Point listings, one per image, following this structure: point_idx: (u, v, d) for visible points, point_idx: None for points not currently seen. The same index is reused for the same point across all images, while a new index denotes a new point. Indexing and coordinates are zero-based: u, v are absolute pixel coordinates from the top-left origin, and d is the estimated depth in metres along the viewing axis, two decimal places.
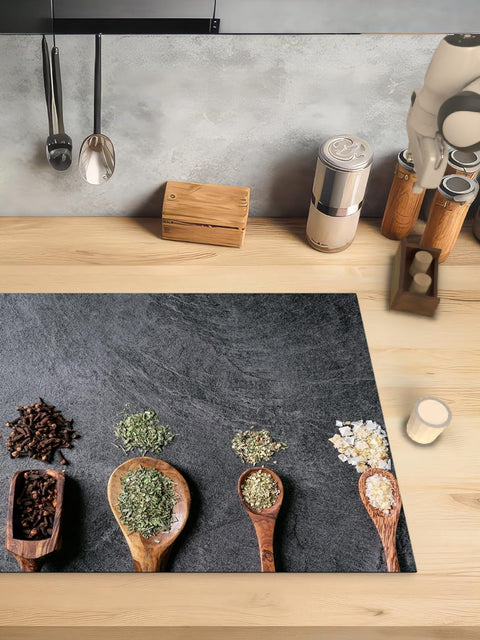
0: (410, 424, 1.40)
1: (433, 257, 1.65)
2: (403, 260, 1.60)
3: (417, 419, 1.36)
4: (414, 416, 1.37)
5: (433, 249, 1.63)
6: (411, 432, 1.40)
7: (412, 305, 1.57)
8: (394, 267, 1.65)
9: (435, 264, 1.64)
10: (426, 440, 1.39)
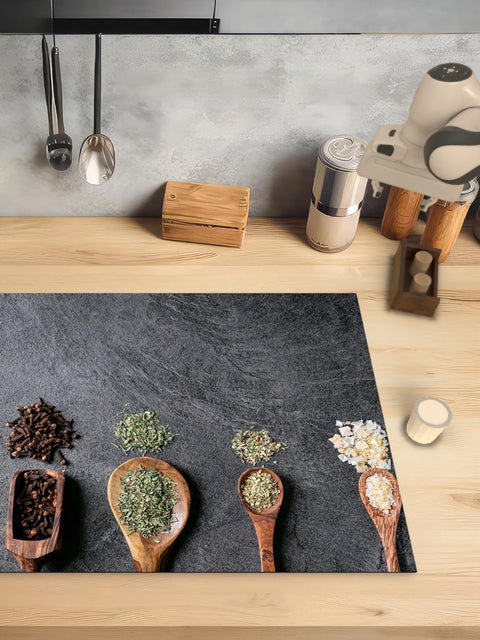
0: (410, 424, 1.40)
1: (433, 257, 1.65)
2: (403, 260, 1.60)
3: (417, 419, 1.36)
4: (414, 416, 1.37)
5: (433, 249, 1.63)
6: (411, 432, 1.40)
7: (412, 305, 1.57)
8: (394, 267, 1.65)
9: (435, 264, 1.64)
10: (426, 440, 1.39)
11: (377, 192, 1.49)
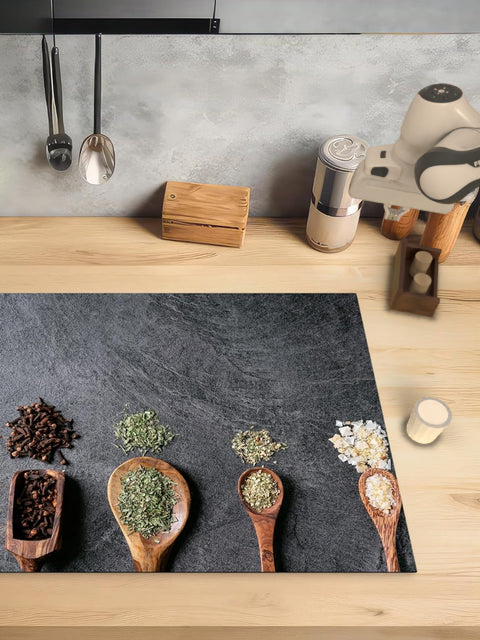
0: (410, 424, 1.40)
1: (433, 257, 1.65)
2: (403, 260, 1.60)
3: (417, 419, 1.36)
4: (414, 416, 1.37)
5: (433, 249, 1.63)
6: (411, 432, 1.40)
7: (412, 305, 1.57)
8: (394, 267, 1.65)
9: (435, 264, 1.64)
10: (426, 440, 1.39)
11: (389, 214, 1.49)
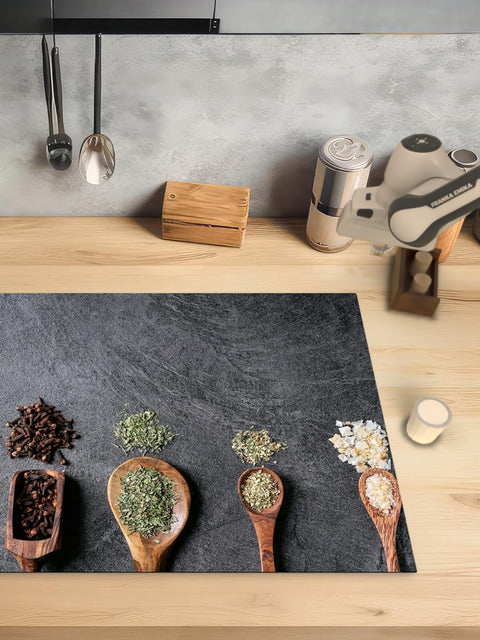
0: (410, 424, 1.40)
1: (433, 257, 1.65)
2: (403, 260, 1.60)
3: (417, 419, 1.36)
4: (414, 416, 1.37)
5: (433, 249, 1.63)
6: (411, 432, 1.40)
7: (412, 305, 1.57)
8: (394, 267, 1.65)
9: (435, 264, 1.64)
10: (426, 440, 1.39)
11: (375, 251, 1.58)
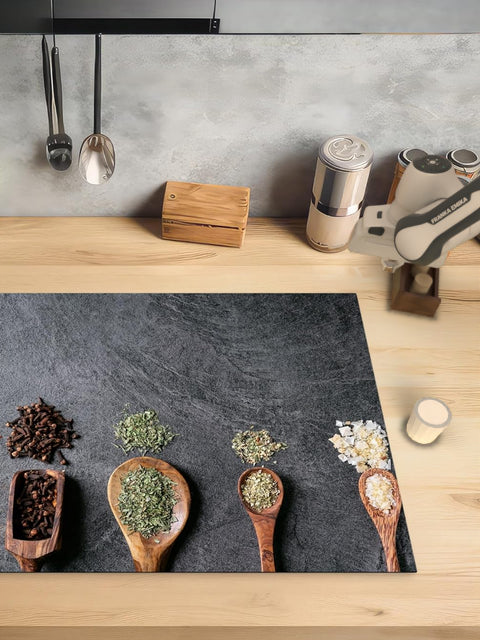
0: (410, 424, 1.40)
1: None
2: None
3: (417, 419, 1.36)
4: (414, 416, 1.37)
5: None
6: (411, 432, 1.40)
7: (413, 305, 1.57)
8: None
9: None
10: (426, 440, 1.39)
11: (386, 267, 1.60)
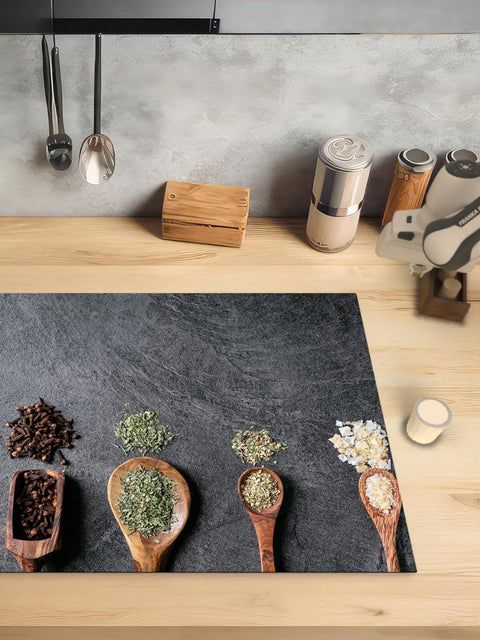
0: (410, 424, 1.40)
1: None
2: None
3: (417, 419, 1.36)
4: (414, 416, 1.37)
5: None
6: (411, 432, 1.40)
7: (442, 310, 1.56)
8: None
9: None
10: (426, 440, 1.39)
11: (414, 272, 1.59)
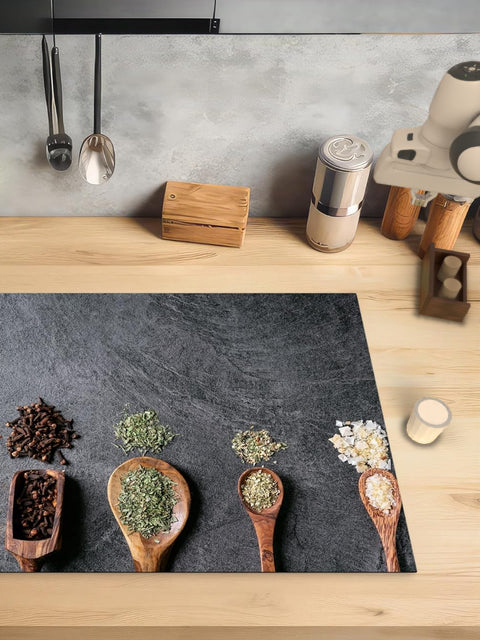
0: (410, 424, 1.40)
1: (461, 262, 1.64)
2: (432, 265, 1.59)
3: (417, 419, 1.36)
4: (414, 416, 1.37)
5: (461, 254, 1.62)
6: (411, 432, 1.40)
7: (442, 310, 1.56)
8: (422, 272, 1.64)
9: (464, 269, 1.63)
10: (426, 440, 1.39)
11: (416, 200, 1.45)
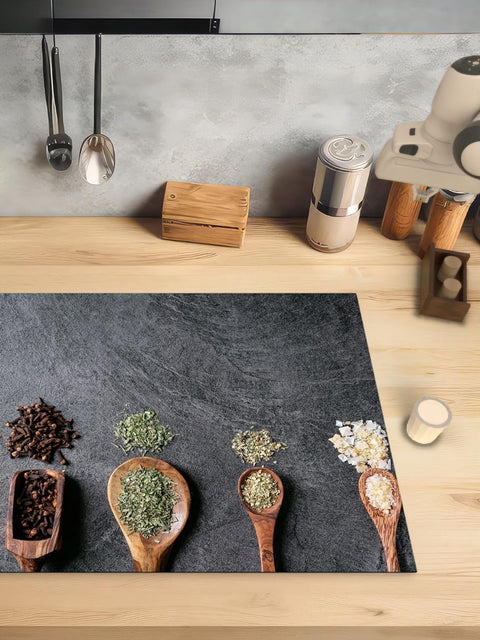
0: (410, 424, 1.40)
1: (461, 262, 1.64)
2: (432, 265, 1.59)
3: (417, 419, 1.36)
4: (414, 416, 1.37)
5: (461, 254, 1.62)
6: (411, 432, 1.40)
7: (442, 310, 1.56)
8: (422, 272, 1.64)
9: (464, 269, 1.63)
10: (426, 440, 1.39)
11: (417, 196, 1.44)
